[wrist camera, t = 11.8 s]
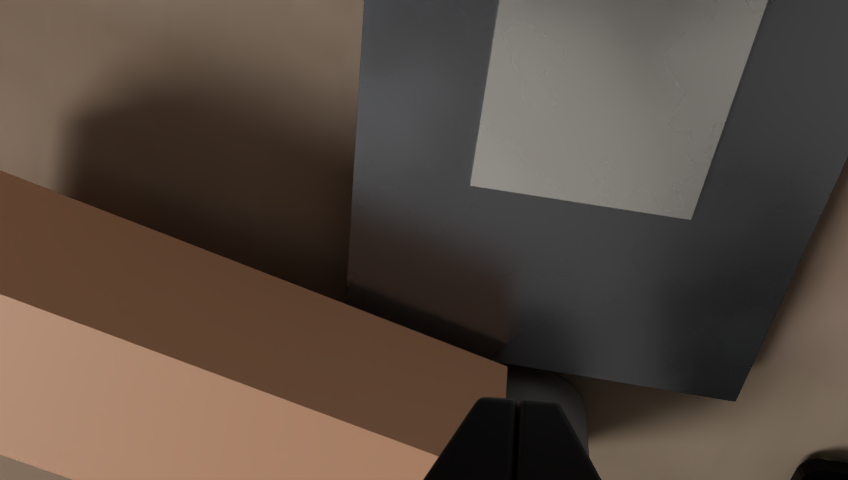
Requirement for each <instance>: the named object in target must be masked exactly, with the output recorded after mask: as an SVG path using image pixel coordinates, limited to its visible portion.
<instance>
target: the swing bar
mask: <svg viewBox="0 0 848 480" xmlns="http://www.w3.org/2000/svg"><path fill="white" fill-rule="evenodd" d="M481 397H499V398H512V399H514V400H516V402H517V403H518V407H519V403H520V401H521V400H523V399H537V400H553V401H556V402H558V403H559V404H560V406H561V407H562V409H563V410H564V412H565V414H566V416H567V418H568V420H569V421H570V423H571V425H572V427H573V429H574V431H575V432H576V434H577V436H578V438H579V440H580V442H581V443H582V445H583V447H584V449H585V451H586V453H587V454H588V456H589V449H588V434H587V418H586V409H585V405H584V402H583V400H582V398H581V396H580V395H579V394H578V392H577V391H576V390H575V389H574V388H573V387H572V386H571V385H570V384H569V383H568V382H566V381H565V380H564V379H562V378H560V377H558V376H557V375H554V374H552V373H550V372H547V371H544V370H541V369H536V368H530V367H518V366H514V367H507V366H505V365H502V364H499V363H497V362H494V361H492V360H489V359H486V358H484V357H481V356H479V355H476V354H473V353H471V352H468V351H466V350H463V349H461V348H458V347H455V346H453V345H450V344H448V343H445V342H442V341H440V340H437V339H435V338H432V337H429V336H427V335H424V334H422V333H419V332H417V331H414V330H411V329H409V328H406V327H404V326H401V325H398V324H396V323H393V322H391V321H388V320H386V319H383V318H380V317H378V316H375V315H373V314H370V313H367V312H365V311H362V310H360V309H357V308H354V307H352V306H349V305H347V304H344V303H342V302H339V301H336V300H334V299H331V298H329V297H326V296H323V295H321V294H318V293H316V292H313V291H310V290H308V289H305V288H303V287H300V286H298V285H295V284H292V283H290V282H287V281H285V280H282V279H279V278H277V277H274V276H272V275H269V274H266V273H264V272H261V271H259V270H256V269H254V268H251V267H248V266H246V265H243V264H241V263H238V262H235V261H233V260H230V259H228V258H225V257H222V256H220V255H217V254H215V253H212V252H210V251H207V250H204V249H202V248H199V247H197V246H194V245H191V244H189V243H186V242H184V241H181V240H178V239H176V238H173V237H171V236H168V235H166V234H163V233H160V232H158V231H155V230H153V229H150V228H147V227H145V226H142V225H140V224H137V223H134V222H132V221H129V220H127V219H124V218H122V217H119V216H116V215H114V214H111V213H109V212H106V211H103V210H101V209H98V208H96V207H93V206H91V205H88V204H85V203H83V202H80V201H78V200H75V199H72V198H70V197H67V196H65V195H62V194H59V193H57V192H54V191H52V190H49V189H47V188H44V187H41V186H39V185H36V184H34V183H31V182H28V181H26V180H23V179H21V178H18V177H15V176H13V175H10V174H8V173H5V172H3V171H0V455H3V456H6V457H9V458H12V459H15V460H18V461H20V462H23V463H26V464H29V465H32V466H35V467H38V468H41V469H43V470H46V471H49V472H52V473H55V474H58V475H61V476H63V477H66V478H69V479H72V480H423V479H424V478H425V476H426V475H427V473H428V472H429V470H430V469H431V467H432V466H433V464H434V463H435V461H436V460H437V458H438V457H439V455H440V454H441V452H442V451H443V450H444V448H445V447H446V445H447V444H448V442H449V441H450V439H451V438H452V436H453V435H454V433H455V432H456V430H457V429H458V427H459V426H460V424H461V423H462V421H463V420H464V418H465V417H466V415H467V414H468V412H469V411H470V409H471V408H472V407H473V405H474V404H475V402H476V401H477V400H478V399H479V398H481Z"/></svg>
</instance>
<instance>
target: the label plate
mask: <svg viewBox="0 0 848 480" xmlns="http://www.w3.org/2000/svg"><path fill="white" fill-rule="evenodd" d="M847 158H848V0H364V13H363V29H362V45H361V61H360V77H359V93H358V110H357V126H356V142H355V158H354V174H353V190H352V206H351V222H350V238H349V254H348V270H347V286H346V303H345V304H347V305H349V306H352V307H354V308H357V309H360V310H362V311H365V312H367V313H370V314H373V315H375V316H378V317H380V318H383V319H386V320H388V321H391V322H393V323H396V324H398V325H401V326H404V327H406V328H409V329H411V330H414V331H417V332H419V333H422V334H424V335H427V336H429V337H432V338H435V339H437V340H440V341H442V342H445V343H448V344H450V345H453V346H455V347H458V348H461V349H463V350H466V351H468V352H471V353H473V354H476V355H479V356H481V357H484V358H486V359H489V360H492V361H494V362H500V363H506V364H512V365H518V366H524V367H530V368H536V369H542V370H548V371H554V372H560V373H566V374H572V375H578V376H584V377H590V378H596V379H602V380H608V381H614V382H620V383H626V384H632V385H638V386H644V387H650V388H656V389H662V390H668V391H674V392H681V393H687V394H693V395H699V396H705V397H711V398H717V399H723V400H729V401H735V402H736V399H737V397H738V395H739V393H740V391H741V388H742V386H743V384H744V382H745V380H746V378H747V375H748V373H749V371H750V369H751V367H752V364H753V362H754V360H755V358H756V356H757V354H758V351H759V349H760V347H761V345H762V343H763V341H764V338H765V336H766V334H767V332H768V330H769V327H770V325H771V323H772V321H773V319H774V317H775V314H776V312H777V310H778V308H779V306H780V304H781V301H782V299H783V297H784V295H785V293H786V290H787V288H788V286H789V284H790V282H791V280H792V277H793V275H794V273H795V271H796V269H797V267H798V264H799V262H800V260H801V258H802V256H803V253H804V251H805V249H806V247H807V245H808V243H809V240H810V238H811V236H812V234H813V232H814V229H815V227H816V225H817V223H818V221H819V219H820V216H821V214H822V212H823V210H824V208H825V206H826V203H827V201H828V199H829V197H830V195H831V192H832V190H833V188H834V186H835V184H836V182H837V179H838V177H839V175H840V173H841V171H842V169H843V166H844V164H845V162H846V160H847Z"/></svg>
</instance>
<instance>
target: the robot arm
mask: <svg viewBox="0 0 848 480" xmlns="http://www.w3.org/2000/svg"><path fill="white" fill-rule="evenodd" d="M815 477H817V478H815ZM423 480H601V478H600V476H599V475H598V473H597V471H596V469H595V467H594V465H593V464H592V462H591V460H590V458H589V456H588V454H587V453H586V451H585V449H584V447H583V445H582V443H581V442H580V440H579V438H578V436H577V434H576V432H575V431H574V429H573V427H572V425H571V423H570V421H569V420H568V418H567V416H566V414H565V412H564V410H563V409H562V407H561V406H560V404H559V403H558V402H556V401H553V400H537V399H523V400H521V401H520V403H519V407H518V403H517V402H516V400H514V399H512V398H499V397H481V398H479V399H478V400H477V401H476V402H475V404H474V405H473V407H472V408H471V409H470V411H469V412H468V414H467V415H466V417H465V418H464V420H463V421H462V423H461V424H460V426H459V427H458V429H457V430H456V432H455V433H454V435H453V436H452V438H451V439H450V441H449V442H448V444H447V445H446V447H445V448H444V450H443V451H442V452H441V454H440V455H439V457H438V458H437V460H436V461H435V463H434V464H433V466H432V467H431V469H430V470H429V472H428V473H427V475H426V476H425V478H424V479H423ZM791 480H848V463H842V462H836V461H830V460H824V459H812V460H808V461H805V462H803V463H802V464H800V465H799V466H798V468H797V469H796V471H795V473H794V474H793V476H792V478H791Z"/></svg>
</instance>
